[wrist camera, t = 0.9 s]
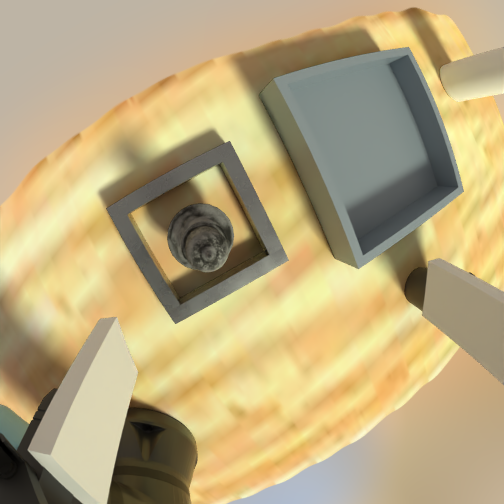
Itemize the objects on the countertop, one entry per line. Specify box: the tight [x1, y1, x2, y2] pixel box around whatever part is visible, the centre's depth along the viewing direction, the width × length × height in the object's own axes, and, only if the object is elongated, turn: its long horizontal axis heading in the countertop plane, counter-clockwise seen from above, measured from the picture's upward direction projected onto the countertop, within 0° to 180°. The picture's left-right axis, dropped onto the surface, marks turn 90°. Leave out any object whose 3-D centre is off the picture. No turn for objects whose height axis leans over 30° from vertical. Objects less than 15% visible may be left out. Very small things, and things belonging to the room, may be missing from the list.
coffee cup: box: [405, 268, 475, 311], centre depth 33 cm, size 8×8×10 cm
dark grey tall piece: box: [167, 203, 234, 272], centre depth 23 cm, size 6×6×12 cm
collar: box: [107, 141, 288, 324], centre depth 28 cm, size 13×13×2 cm
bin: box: [259, 47, 464, 269], centre depth 29 cm, size 20×20×5 cm
